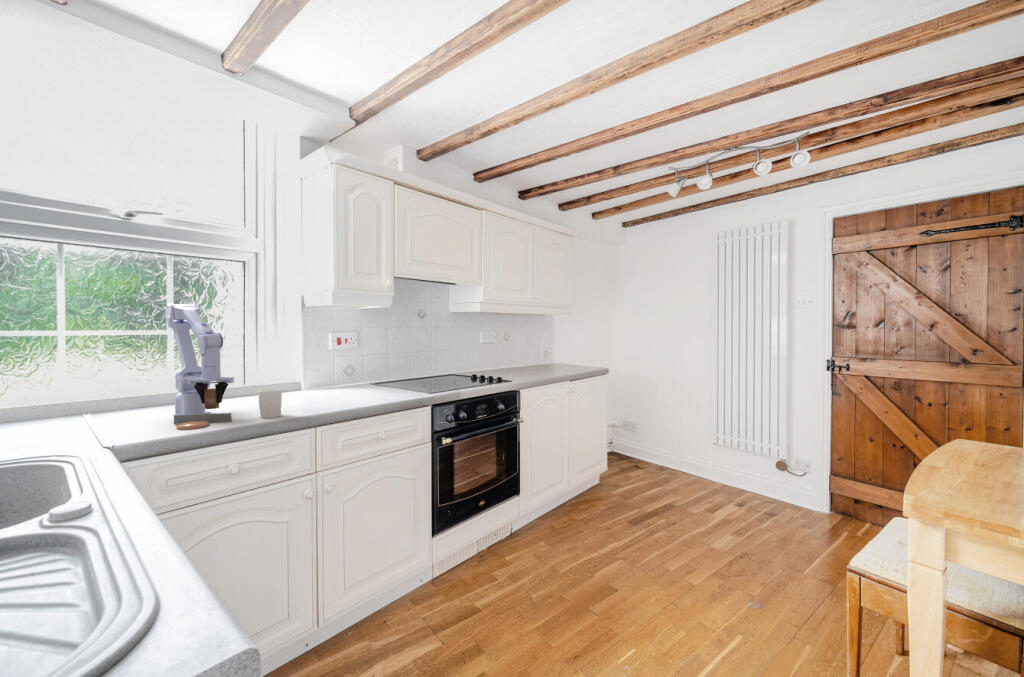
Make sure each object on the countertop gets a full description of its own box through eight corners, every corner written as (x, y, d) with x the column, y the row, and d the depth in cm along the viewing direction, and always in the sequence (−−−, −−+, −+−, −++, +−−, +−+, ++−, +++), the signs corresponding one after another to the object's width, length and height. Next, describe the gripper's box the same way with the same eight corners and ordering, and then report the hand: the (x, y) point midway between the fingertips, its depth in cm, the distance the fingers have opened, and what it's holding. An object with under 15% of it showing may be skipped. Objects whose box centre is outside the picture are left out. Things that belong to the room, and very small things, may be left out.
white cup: (253, 417, 163) (253, 390, 163) (272, 413, 170) (272, 388, 170) (268, 419, 160) (267, 392, 160) (287, 415, 167) (286, 389, 167)
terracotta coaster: (169, 429, 145) (169, 426, 145) (194, 423, 154) (194, 420, 154) (191, 430, 143) (191, 427, 143) (215, 424, 152) (215, 421, 152)
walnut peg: (201, 408, 160) (201, 389, 159) (212, 406, 164) (211, 388, 164) (211, 409, 159) (211, 390, 158) (222, 407, 163) (221, 388, 163)
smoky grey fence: (173, 424, 153) (173, 415, 153) (175, 423, 154) (175, 415, 154) (230, 421, 156) (230, 413, 156) (231, 421, 157) (231, 412, 157)
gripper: (182, 367, 156) (183, 405, 156) (227, 366, 158) (228, 404, 159) (193, 365, 163) (194, 402, 163) (236, 365, 165) (237, 400, 166)
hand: (211, 403), depth 161 cm, fingers closed on walnut peg, 4 cm apart
